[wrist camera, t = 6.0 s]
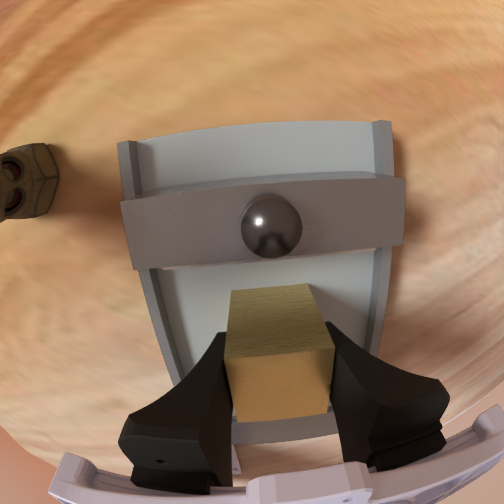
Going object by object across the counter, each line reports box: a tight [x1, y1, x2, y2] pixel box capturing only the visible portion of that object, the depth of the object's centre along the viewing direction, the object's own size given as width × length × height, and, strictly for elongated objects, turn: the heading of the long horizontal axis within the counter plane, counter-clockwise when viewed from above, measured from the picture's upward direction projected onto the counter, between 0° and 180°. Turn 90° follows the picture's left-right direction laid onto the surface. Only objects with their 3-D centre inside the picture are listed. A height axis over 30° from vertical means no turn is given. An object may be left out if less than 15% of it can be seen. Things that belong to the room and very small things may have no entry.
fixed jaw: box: [231, 399, 339, 445], centre depth 15 cm, size 3×10×4 cm, turn 95°
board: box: [117, 120, 394, 387], centre depth 15 cm, size 18×13×2 cm
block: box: [224, 283, 335, 423], centre depth 13 cm, size 4×4×6 cm
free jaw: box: [120, 171, 405, 270], centre depth 11 cm, size 3×10×5 cm, turn 95°
